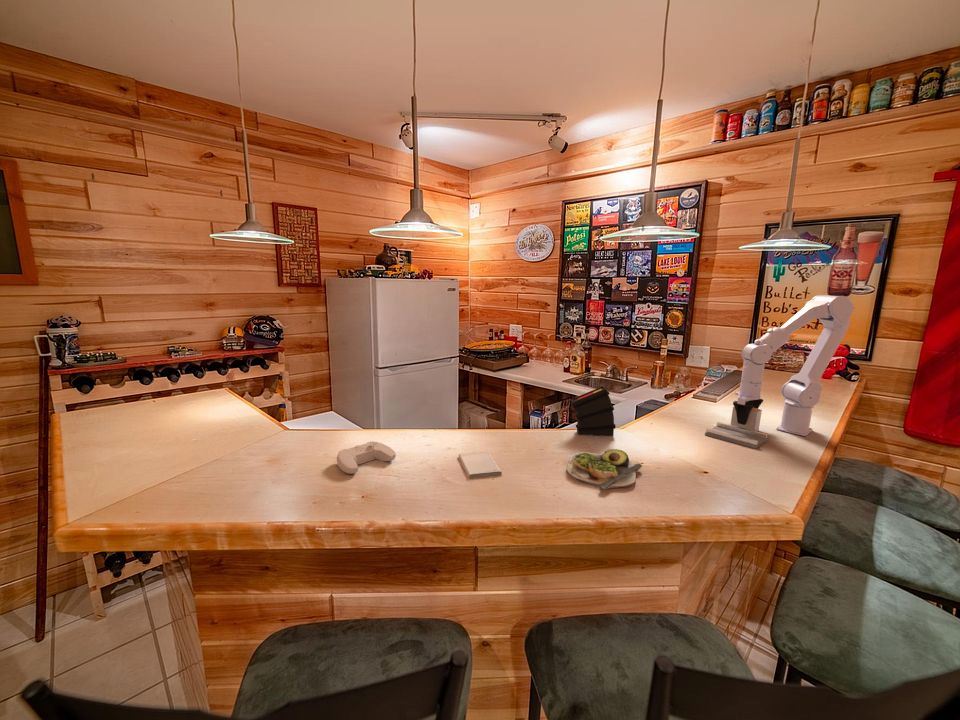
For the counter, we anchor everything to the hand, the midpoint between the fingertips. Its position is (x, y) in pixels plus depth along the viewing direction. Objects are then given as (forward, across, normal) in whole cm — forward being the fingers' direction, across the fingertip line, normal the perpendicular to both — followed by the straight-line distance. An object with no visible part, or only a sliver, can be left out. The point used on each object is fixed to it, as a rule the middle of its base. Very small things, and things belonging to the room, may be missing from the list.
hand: (745, 421), depth 138 cm
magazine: (+3, +44, -29) cm, 53 cm away
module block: (+2, 0, 0) cm, 2 cm away
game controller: (+3, +108, -54) cm, 121 cm away
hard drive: (+3, +86, -34) cm, 93 cm away
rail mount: (+2, +11, +1) cm, 11 cm away
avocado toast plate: (+3, +64, -12) cm, 65 cm away
